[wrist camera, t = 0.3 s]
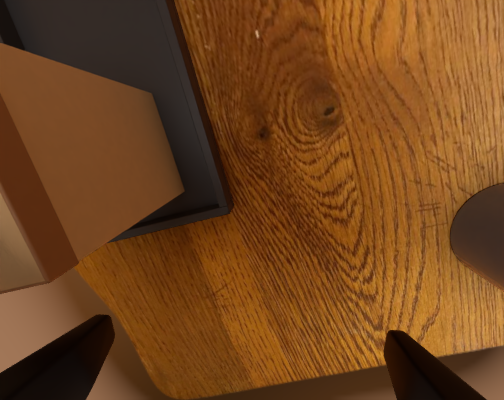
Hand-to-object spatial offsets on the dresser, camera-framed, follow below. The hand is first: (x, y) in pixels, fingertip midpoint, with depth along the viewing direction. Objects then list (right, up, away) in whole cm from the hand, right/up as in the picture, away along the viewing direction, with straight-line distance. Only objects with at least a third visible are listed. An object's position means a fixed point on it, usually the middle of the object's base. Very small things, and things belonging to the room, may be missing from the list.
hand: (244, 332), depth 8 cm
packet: (-8, +8, +10) cm, 15 cm away
